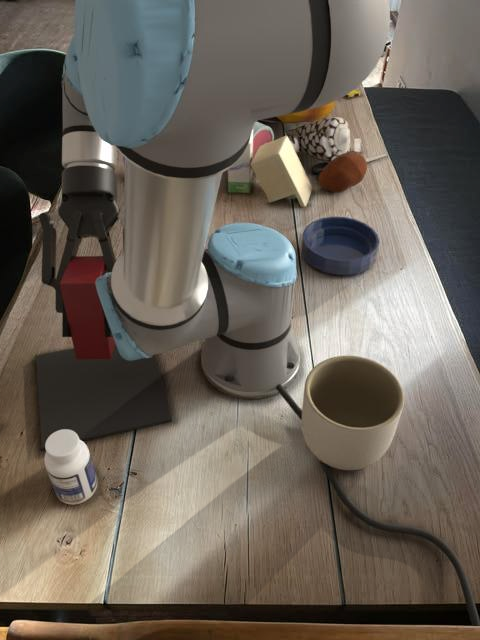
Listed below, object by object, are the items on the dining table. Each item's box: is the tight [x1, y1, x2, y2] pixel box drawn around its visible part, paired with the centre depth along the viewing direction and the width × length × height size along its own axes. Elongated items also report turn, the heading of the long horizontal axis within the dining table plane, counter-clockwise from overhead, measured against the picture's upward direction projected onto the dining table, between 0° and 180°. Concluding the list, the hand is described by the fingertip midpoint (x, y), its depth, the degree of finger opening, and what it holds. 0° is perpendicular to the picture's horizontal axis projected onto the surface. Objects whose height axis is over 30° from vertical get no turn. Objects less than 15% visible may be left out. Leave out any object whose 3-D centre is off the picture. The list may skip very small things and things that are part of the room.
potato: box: [317, 151, 368, 193], centre depth 131 cm, size 8×12×8 cm
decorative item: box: [344, 89, 361, 98], centre depth 172 cm, size 11×1×5 cm
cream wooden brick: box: [251, 135, 313, 208], centre depth 128 cm, size 8×7×13 cm
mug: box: [253, 121, 275, 158], centre depth 138 cm, size 14×9×10 cm
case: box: [60, 255, 115, 359], centre depth 86 cm, size 5×7×13 cm
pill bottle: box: [43, 429, 98, 505], centre depth 76 cm, size 5×5×10 cm
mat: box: [35, 343, 173, 451], centre depth 91 cm, size 18×18×1 cm
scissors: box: [311, 153, 388, 178], centre depth 140 cm, size 7×1×20 cm
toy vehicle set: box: [346, 138, 362, 153], centre depth 146 cm, size 12×4×2 cm
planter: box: [301, 355, 405, 471], centre depth 81 cm, size 12×12×11 cm
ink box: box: [227, 130, 253, 194], centre depth 131 cm, size 8×5×12 cm, turn 175°
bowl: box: [300, 216, 380, 276], centre depth 114 cm, size 14×14×4 cm
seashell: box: [284, 116, 351, 162], centre depth 141 cm, size 16×13×10 cm
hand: (88, 336), depth 85 cm, fingers closed on case, 5 cm apart
